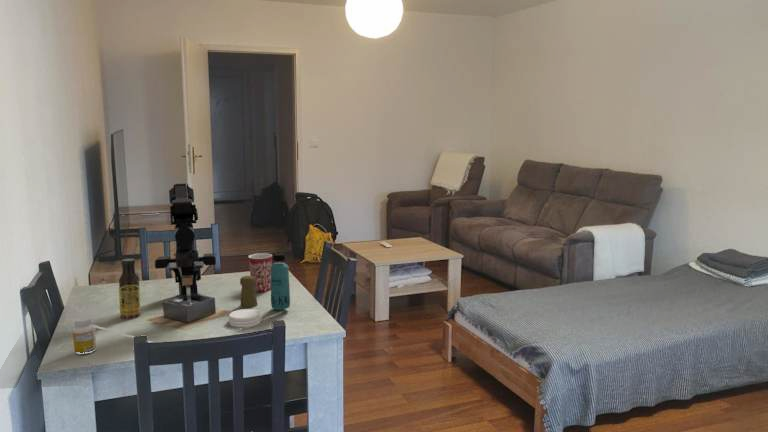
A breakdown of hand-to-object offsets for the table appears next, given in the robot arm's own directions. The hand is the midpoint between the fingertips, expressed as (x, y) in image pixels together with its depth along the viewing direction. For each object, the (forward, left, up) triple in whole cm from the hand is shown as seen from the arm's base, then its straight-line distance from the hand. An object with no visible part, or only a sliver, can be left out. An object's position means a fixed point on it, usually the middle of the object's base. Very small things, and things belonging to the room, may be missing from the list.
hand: (188, 286), depth 190 cm
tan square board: (0, 0, -11) cm, 11 cm away
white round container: (+20, +5, -11) cm, 23 cm away
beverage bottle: (+22, +20, -11) cm, 32 cm away
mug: (-4, +37, -11) cm, 39 cm away
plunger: (0, 0, -7) cm, 7 cm away
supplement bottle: (-2, -35, -11) cm, 37 cm away
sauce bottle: (-17, -10, -11) cm, 23 cm away
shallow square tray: (-1, 0, -10) cm, 10 cm away
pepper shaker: (+9, +18, -11) cm, 23 cm away
